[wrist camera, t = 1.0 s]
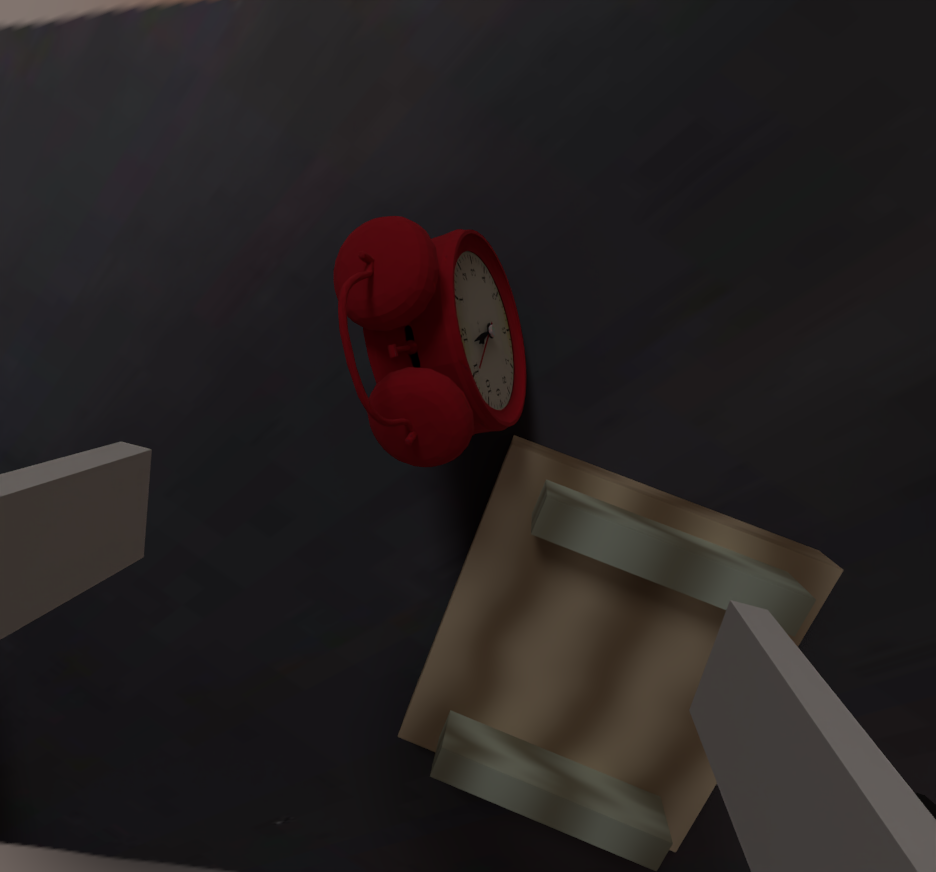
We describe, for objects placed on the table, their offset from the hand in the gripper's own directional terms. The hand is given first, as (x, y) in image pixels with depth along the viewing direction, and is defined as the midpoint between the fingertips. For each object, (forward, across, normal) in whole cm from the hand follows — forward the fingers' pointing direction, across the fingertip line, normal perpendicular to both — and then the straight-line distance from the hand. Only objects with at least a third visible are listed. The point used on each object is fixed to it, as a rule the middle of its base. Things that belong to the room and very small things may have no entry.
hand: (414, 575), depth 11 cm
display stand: (+20, +9, -12) cm, 26 cm away
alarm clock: (+21, -3, +4) cm, 21 cm away
